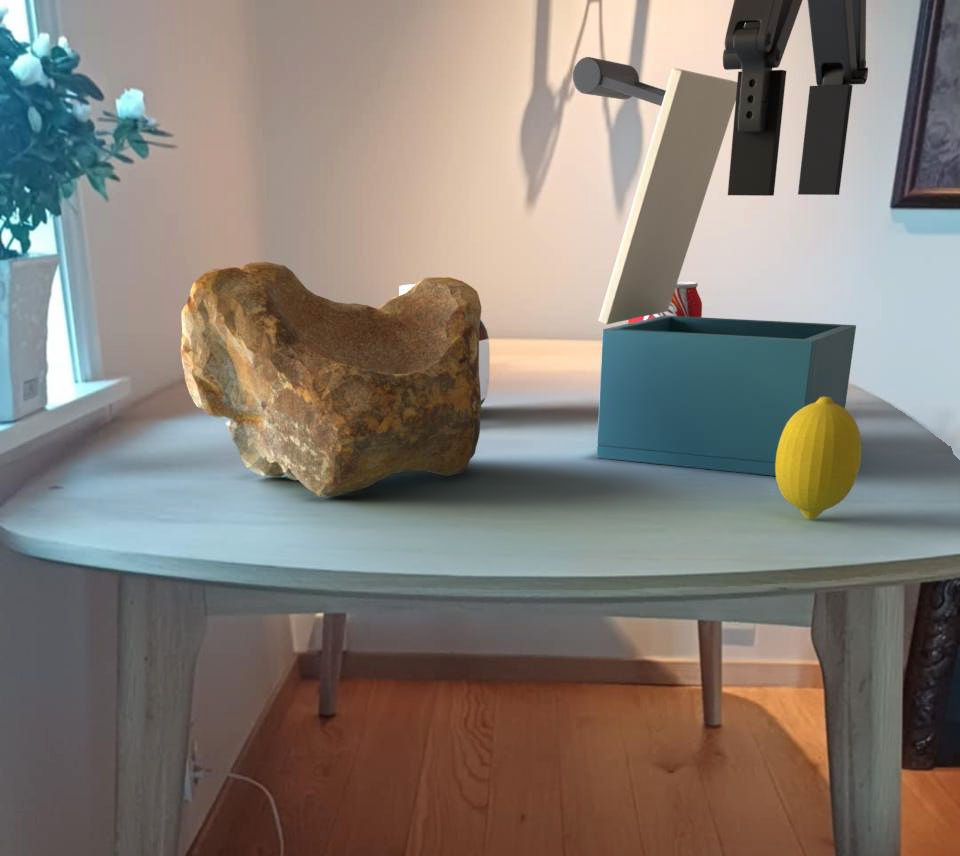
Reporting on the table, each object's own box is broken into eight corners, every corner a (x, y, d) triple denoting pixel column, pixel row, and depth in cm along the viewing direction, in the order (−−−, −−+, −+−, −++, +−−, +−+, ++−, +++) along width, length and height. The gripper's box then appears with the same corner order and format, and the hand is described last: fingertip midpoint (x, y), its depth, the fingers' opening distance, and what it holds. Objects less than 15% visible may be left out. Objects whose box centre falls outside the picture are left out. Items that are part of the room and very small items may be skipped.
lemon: (794, 531, 83) (809, 404, 79) (755, 512, 88) (767, 392, 84) (867, 525, 84) (886, 401, 81) (825, 507, 89) (841, 388, 85)
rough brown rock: (213, 527, 86) (202, 292, 78) (182, 461, 99) (169, 254, 92) (528, 514, 93) (547, 297, 85) (460, 454, 107) (470, 262, 99)
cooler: (839, 449, 109) (856, 325, 104) (796, 478, 98) (813, 341, 93) (655, 432, 116) (663, 315, 111) (596, 457, 105) (602, 329, 100)
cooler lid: (741, 83, 101) (635, 48, 103) (682, 70, 90) (565, 32, 92) (668, 311, 111) (572, 274, 113) (606, 324, 100) (503, 284, 102)
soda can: (618, 418, 123) (625, 284, 117) (627, 407, 129) (635, 279, 123) (690, 421, 121) (701, 285, 116) (697, 410, 127) (707, 280, 122)
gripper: (829, -296, 61) (779, 196, 71) (947, -181, 80) (893, 194, 90) (686, -271, 64) (657, 195, 74) (831, -167, 83) (792, 194, 93)
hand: (786, 195), depth 82 cm, fingers open, 13 cm apart
